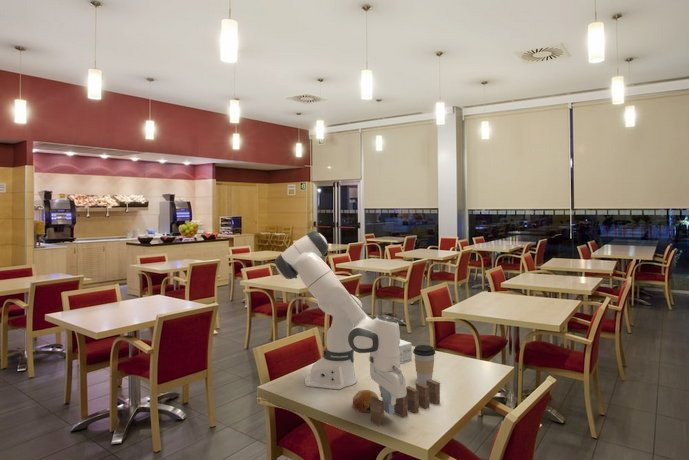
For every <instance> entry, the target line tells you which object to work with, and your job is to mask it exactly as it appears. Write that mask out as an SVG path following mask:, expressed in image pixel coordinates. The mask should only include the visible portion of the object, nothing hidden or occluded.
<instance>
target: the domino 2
mask: <svg viewBox="0 0 689 460" xmlns="http://www.w3.org/2000/svg"><path fill="white" fill-rule="evenodd" d="M389 399H391V395H390V393H389V392H388V391H387V390H385V389H384V388H383V387H382V397H381V401H383V402H384V412H386V413H387V414H388V415H393V414H395V412H394V405H391V404H390V403H389Z"/></svg>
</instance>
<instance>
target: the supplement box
mask: <svg viewBox="0 0 689 460" xmlns="http://www.w3.org/2000/svg"><path fill="white" fill-rule="evenodd" d="M412 347H413V344H412V342H410V341H406V340H404V339H401V338H400V344H399V351H400V365H402V364H406V363H409V362H412V359H413V358H412V354H413V350H412V349H413V348H412ZM371 355H375V352H370V353H369V356H371Z"/></svg>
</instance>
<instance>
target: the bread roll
mask: <svg viewBox="0 0 689 460" xmlns="http://www.w3.org/2000/svg"><path fill="white" fill-rule="evenodd" d="M374 397H376V398H377V399H379V396H378V395H377V393H376V392H374V391H372V390H370V389H362V390H358V392H356V393H355V394H354V396H353V397H352V404H353V407H354V409H355V411H357V410H358V411H357V412H360V413H371V411H370V398H374ZM379 400H380V399H379Z"/></svg>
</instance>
